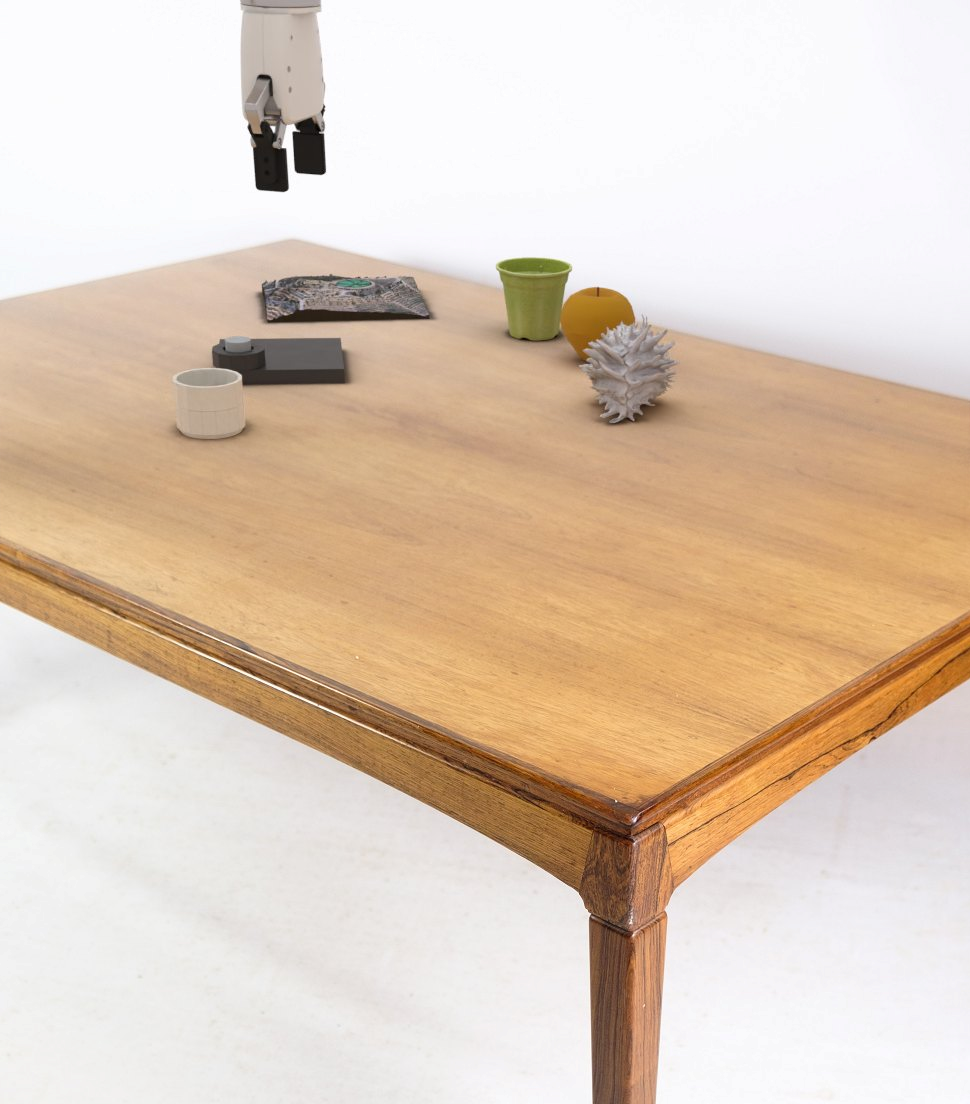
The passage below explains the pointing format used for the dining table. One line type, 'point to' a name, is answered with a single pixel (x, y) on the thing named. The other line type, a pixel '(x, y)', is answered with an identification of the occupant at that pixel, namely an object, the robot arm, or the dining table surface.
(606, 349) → the spiky white shell
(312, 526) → the dining table surface
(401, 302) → the terrain model
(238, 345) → the button
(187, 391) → the white cup
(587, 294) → the apple
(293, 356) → the scale
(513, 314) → the plant pot
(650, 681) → the dining table surface
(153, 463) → the dining table surface
